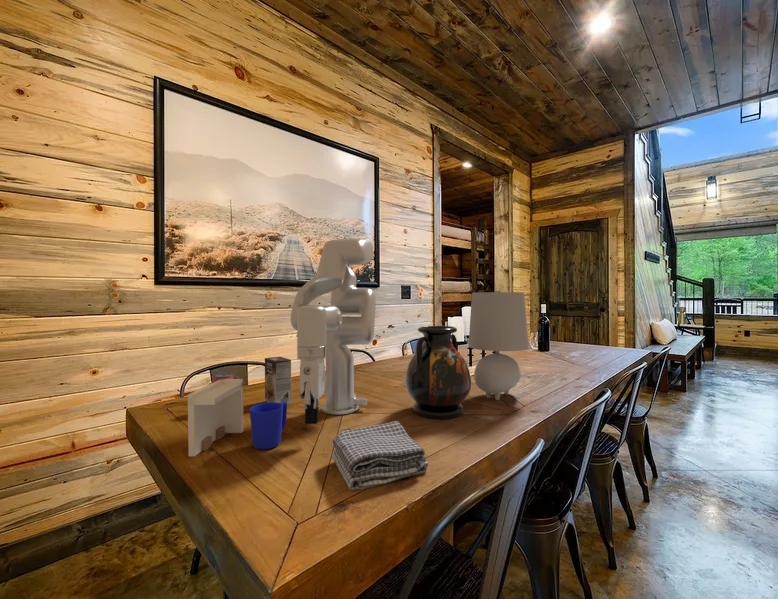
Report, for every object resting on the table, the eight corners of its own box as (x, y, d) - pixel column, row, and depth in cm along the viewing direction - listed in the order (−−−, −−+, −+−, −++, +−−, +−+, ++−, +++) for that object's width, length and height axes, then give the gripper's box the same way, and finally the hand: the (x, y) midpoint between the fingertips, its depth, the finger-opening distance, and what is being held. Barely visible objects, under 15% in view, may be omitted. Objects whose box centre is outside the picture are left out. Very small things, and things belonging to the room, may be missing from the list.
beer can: (238, 407, 123) (237, 372, 122) (227, 413, 116) (227, 377, 116) (220, 406, 123) (220, 372, 123) (209, 412, 117) (208, 377, 117)
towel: (330, 463, 81) (329, 429, 81) (401, 448, 89) (400, 417, 88) (349, 497, 67) (349, 456, 67) (431, 476, 75) (431, 439, 75)
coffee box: (264, 401, 129) (263, 358, 128) (280, 398, 133) (280, 355, 133) (275, 407, 122) (274, 361, 122) (292, 403, 126) (291, 358, 126)
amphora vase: (442, 429, 100) (441, 332, 100) (392, 411, 117) (391, 327, 116) (484, 412, 115) (484, 327, 114) (435, 398, 131) (434, 323, 131)
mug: (298, 435, 97) (297, 399, 97) (270, 454, 85) (269, 413, 85) (273, 432, 99) (273, 397, 99) (242, 449, 88) (242, 410, 88)
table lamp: (490, 386, 147) (489, 291, 147) (541, 396, 131) (540, 290, 131) (457, 397, 132) (456, 291, 131) (510, 410, 116) (509, 290, 115)
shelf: (243, 430, 100) (242, 378, 100) (215, 456, 84) (214, 394, 84) (221, 430, 100) (220, 379, 100) (188, 456, 84) (187, 394, 84)
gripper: (320, 356, 84) (320, 433, 84) (331, 349, 99) (331, 414, 99) (289, 356, 84) (289, 433, 84) (304, 349, 99) (304, 414, 99)
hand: (311, 422), depth 91 cm, fingers closed
